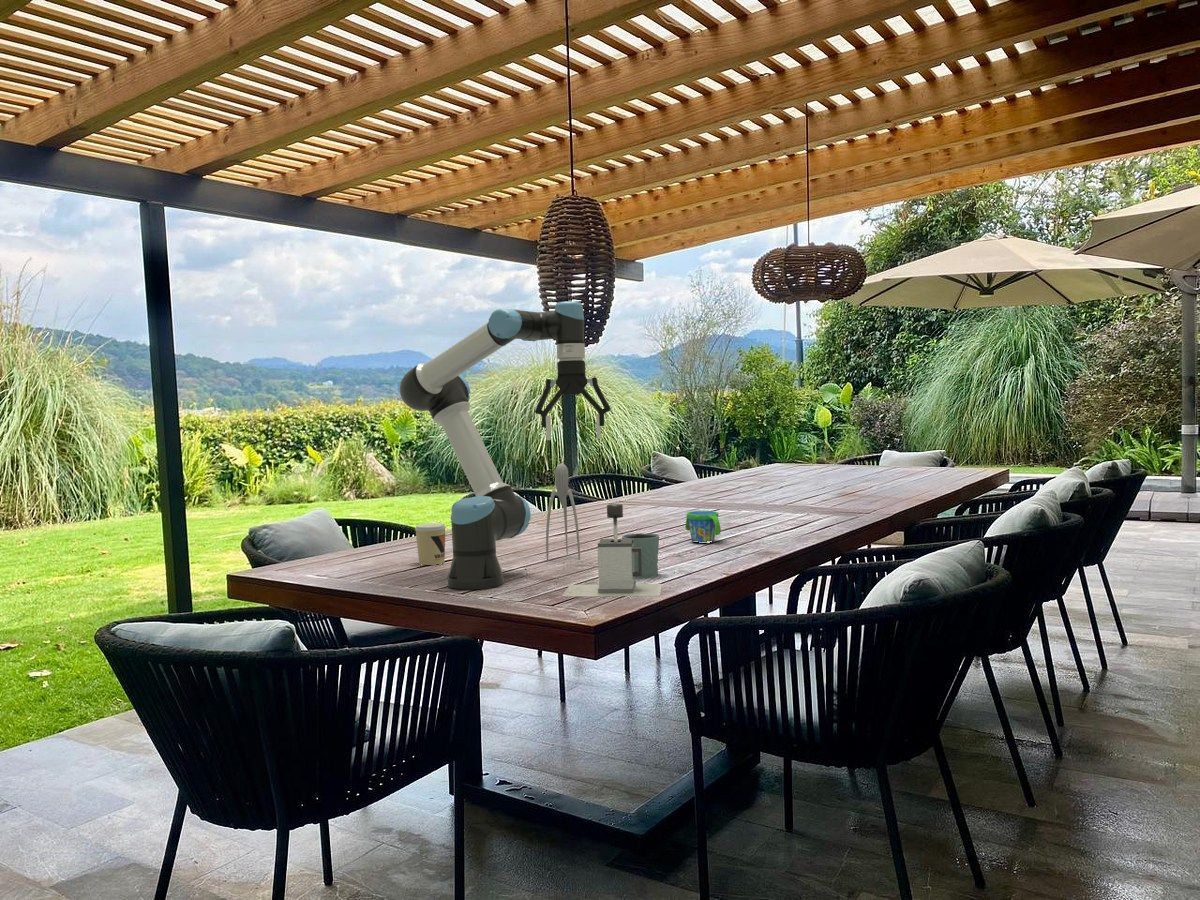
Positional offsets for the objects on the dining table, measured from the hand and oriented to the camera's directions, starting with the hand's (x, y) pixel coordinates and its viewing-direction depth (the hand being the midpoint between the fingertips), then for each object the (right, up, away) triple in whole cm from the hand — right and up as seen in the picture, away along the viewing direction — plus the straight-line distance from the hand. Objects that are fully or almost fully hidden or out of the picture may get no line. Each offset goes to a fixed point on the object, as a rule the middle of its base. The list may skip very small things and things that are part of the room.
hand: (573, 439), depth 246 cm
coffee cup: (-45, -38, +38) cm, 71 cm away
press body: (+11, -38, -15) cm, 42 cm away
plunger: (+11, -35, -15) cm, 40 cm away
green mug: (+18, -38, +3) cm, 43 cm away
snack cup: (+42, -34, +62) cm, 82 cm away
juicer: (-4, -37, +40) cm, 54 cm away
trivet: (+10, -39, -15) cm, 43 cm away
